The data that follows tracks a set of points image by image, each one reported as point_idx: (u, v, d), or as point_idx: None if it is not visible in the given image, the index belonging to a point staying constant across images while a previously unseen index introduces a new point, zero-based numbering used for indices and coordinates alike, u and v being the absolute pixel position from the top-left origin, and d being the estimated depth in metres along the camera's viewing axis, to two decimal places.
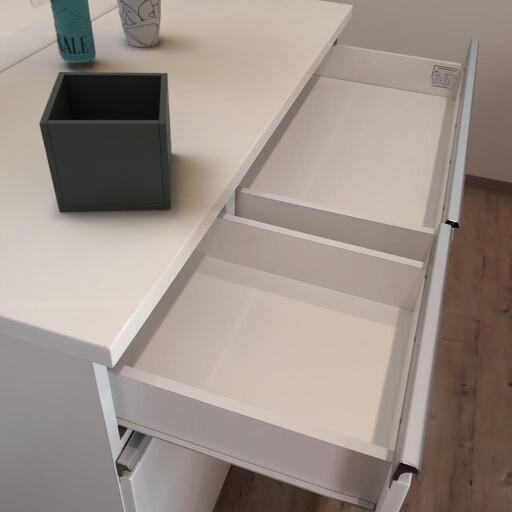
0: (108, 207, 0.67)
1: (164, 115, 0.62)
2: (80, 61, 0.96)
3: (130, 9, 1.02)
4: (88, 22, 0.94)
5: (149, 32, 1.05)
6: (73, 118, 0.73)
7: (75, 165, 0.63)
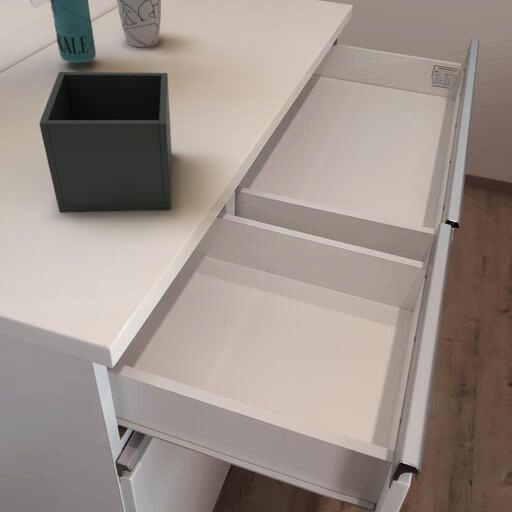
0: (108, 207, 0.67)
1: (164, 115, 0.62)
2: (80, 61, 0.96)
3: (130, 9, 1.02)
4: (88, 22, 0.94)
5: (149, 32, 1.05)
6: (73, 118, 0.73)
7: (75, 165, 0.63)
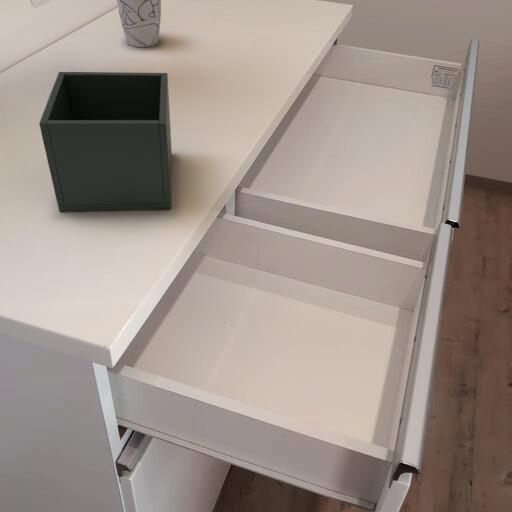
0: (108, 207, 0.67)
1: (164, 115, 0.62)
2: None
3: (130, 9, 1.02)
4: None
5: (149, 32, 1.05)
6: (73, 118, 0.73)
7: (75, 165, 0.63)
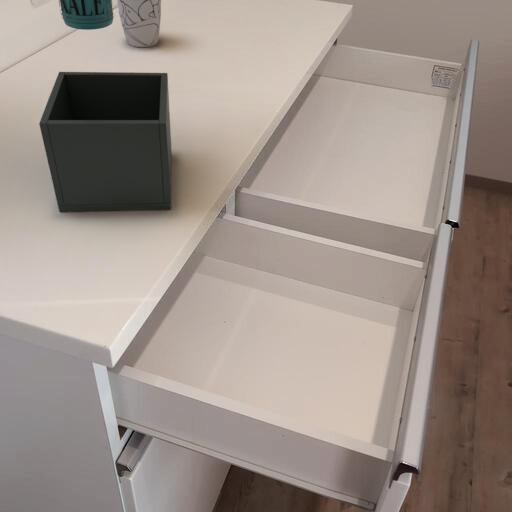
0: (108, 207, 0.67)
1: (164, 115, 0.62)
2: (92, 27, 0.67)
3: (130, 9, 1.02)
4: None
5: (149, 32, 1.05)
6: (73, 118, 0.73)
7: (75, 165, 0.63)
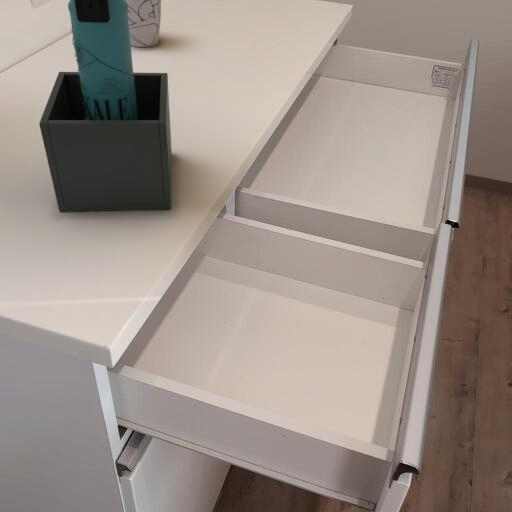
0: (108, 207, 0.67)
1: (164, 115, 0.62)
2: None
3: (130, 9, 1.02)
4: (130, 77, 0.62)
5: (149, 32, 1.05)
6: (73, 118, 0.73)
7: (75, 165, 0.63)
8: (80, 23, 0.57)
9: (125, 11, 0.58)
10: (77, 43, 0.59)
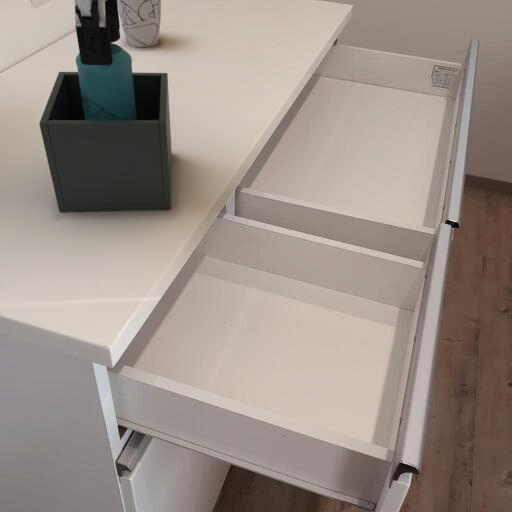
0: (108, 207, 0.67)
1: (164, 115, 0.62)
2: None
3: (130, 9, 1.02)
4: None
5: (149, 32, 1.05)
6: (73, 118, 0.73)
7: (75, 165, 0.63)
8: (87, 77, 0.61)
9: (129, 65, 0.62)
10: (84, 94, 0.62)
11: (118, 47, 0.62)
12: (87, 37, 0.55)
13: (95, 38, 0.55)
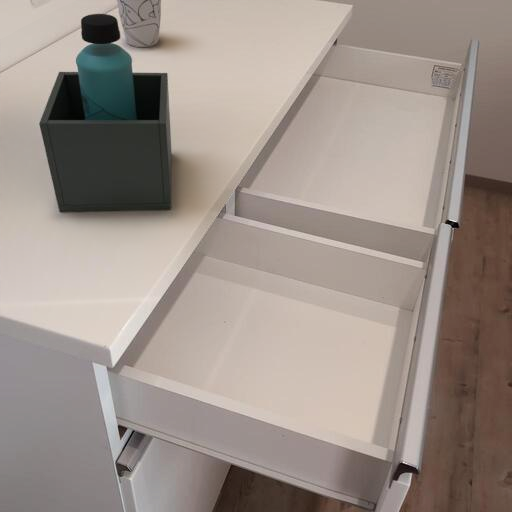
0: (108, 207, 0.67)
1: (164, 115, 0.62)
2: None
3: (130, 9, 1.02)
4: None
5: (149, 32, 1.05)
6: (73, 118, 0.73)
7: (75, 165, 0.63)
8: (87, 77, 0.60)
9: (129, 65, 0.62)
10: (84, 94, 0.62)
11: (118, 47, 0.62)
12: None
13: None
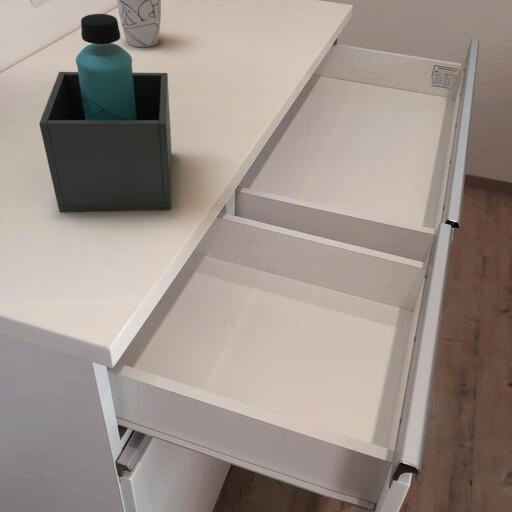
0: (108, 207, 0.67)
1: (164, 115, 0.62)
2: None
3: (130, 9, 1.02)
4: None
5: (149, 32, 1.05)
6: (73, 118, 0.73)
7: (75, 165, 0.63)
8: (87, 77, 0.60)
9: (129, 65, 0.62)
10: (84, 94, 0.62)
11: (118, 47, 0.62)
12: None
13: None
